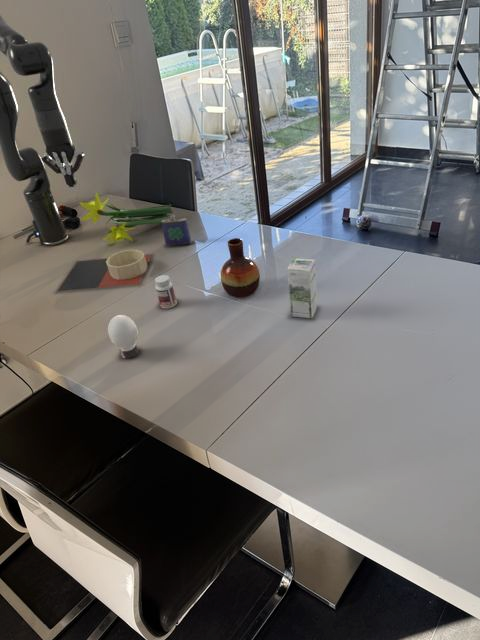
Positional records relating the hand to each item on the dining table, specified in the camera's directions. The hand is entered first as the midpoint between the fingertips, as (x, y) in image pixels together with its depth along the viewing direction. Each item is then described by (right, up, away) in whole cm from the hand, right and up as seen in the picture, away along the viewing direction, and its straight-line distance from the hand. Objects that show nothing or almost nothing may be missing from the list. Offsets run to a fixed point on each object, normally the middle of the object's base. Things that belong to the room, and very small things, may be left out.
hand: (72, 186), depth 146 cm
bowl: (+15, -25, +8) cm, 30 cm away
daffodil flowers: (+11, -7, +33) cm, 35 cm away
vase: (+53, -34, -9) cm, 63 cm away
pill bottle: (+32, -38, -11) cm, 51 cm away
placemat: (+8, -25, +9) cm, 28 cm away
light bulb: (+26, -52, -28) cm, 64 cm away
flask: (+29, -14, +21) cm, 38 cm away
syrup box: (+70, -41, -21) cm, 83 cm away
